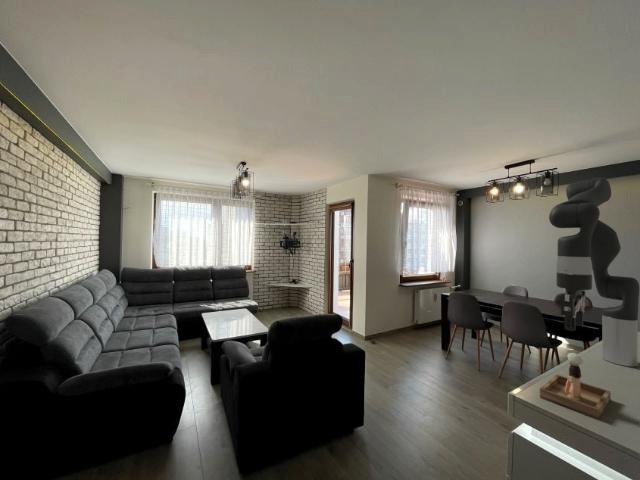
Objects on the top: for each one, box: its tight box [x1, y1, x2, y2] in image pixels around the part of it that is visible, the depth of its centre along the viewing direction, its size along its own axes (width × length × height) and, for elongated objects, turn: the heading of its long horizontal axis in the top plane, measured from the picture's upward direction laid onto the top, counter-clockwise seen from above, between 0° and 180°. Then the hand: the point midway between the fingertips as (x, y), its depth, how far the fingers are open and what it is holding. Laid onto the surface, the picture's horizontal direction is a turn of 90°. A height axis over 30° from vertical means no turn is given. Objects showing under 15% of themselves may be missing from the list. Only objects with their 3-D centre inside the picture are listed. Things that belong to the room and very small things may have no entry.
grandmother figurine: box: [565, 352, 584, 401], centre depth 77 cm, size 8×4×13 cm, turn 134°
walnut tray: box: [539, 374, 612, 421], centre depth 78 cm, size 16×12×2 cm
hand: (573, 327), depth 78 cm, fingers open, 8 cm apart
